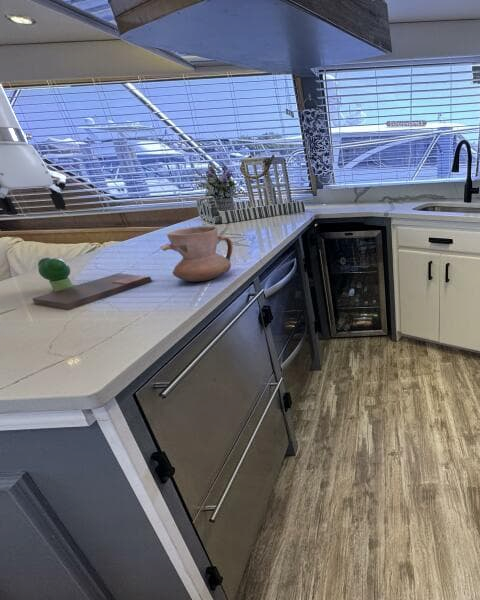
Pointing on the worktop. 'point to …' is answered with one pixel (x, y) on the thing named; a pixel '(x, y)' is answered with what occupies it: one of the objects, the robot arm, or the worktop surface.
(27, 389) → the worktop surface
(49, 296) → the cutting board
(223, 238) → the ceramic jug
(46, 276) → the broccoli
